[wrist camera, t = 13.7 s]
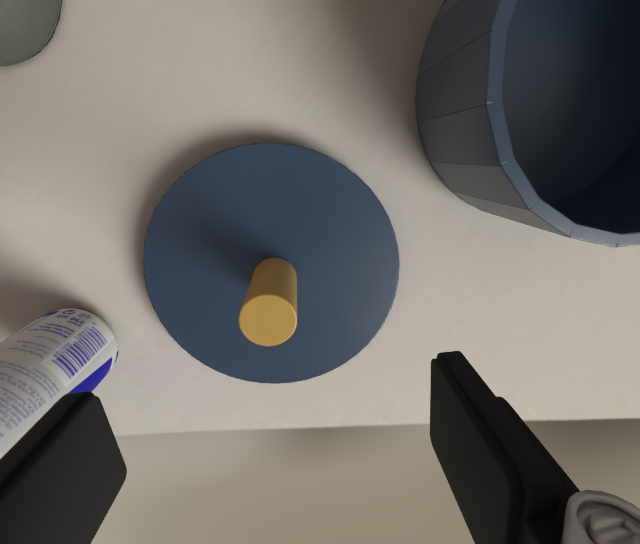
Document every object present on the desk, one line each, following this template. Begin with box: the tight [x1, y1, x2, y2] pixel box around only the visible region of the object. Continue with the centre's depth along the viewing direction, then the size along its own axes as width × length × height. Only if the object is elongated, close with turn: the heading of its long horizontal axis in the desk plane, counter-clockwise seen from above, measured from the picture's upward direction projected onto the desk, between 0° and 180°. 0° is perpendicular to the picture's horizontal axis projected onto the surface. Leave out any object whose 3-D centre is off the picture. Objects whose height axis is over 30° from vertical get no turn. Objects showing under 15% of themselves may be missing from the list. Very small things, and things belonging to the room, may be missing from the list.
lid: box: [143, 143, 399, 383], centre depth 18 cm, size 15×15×7 cm
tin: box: [416, 0, 640, 247], centre depth 15 cm, size 14×14×8 cm
